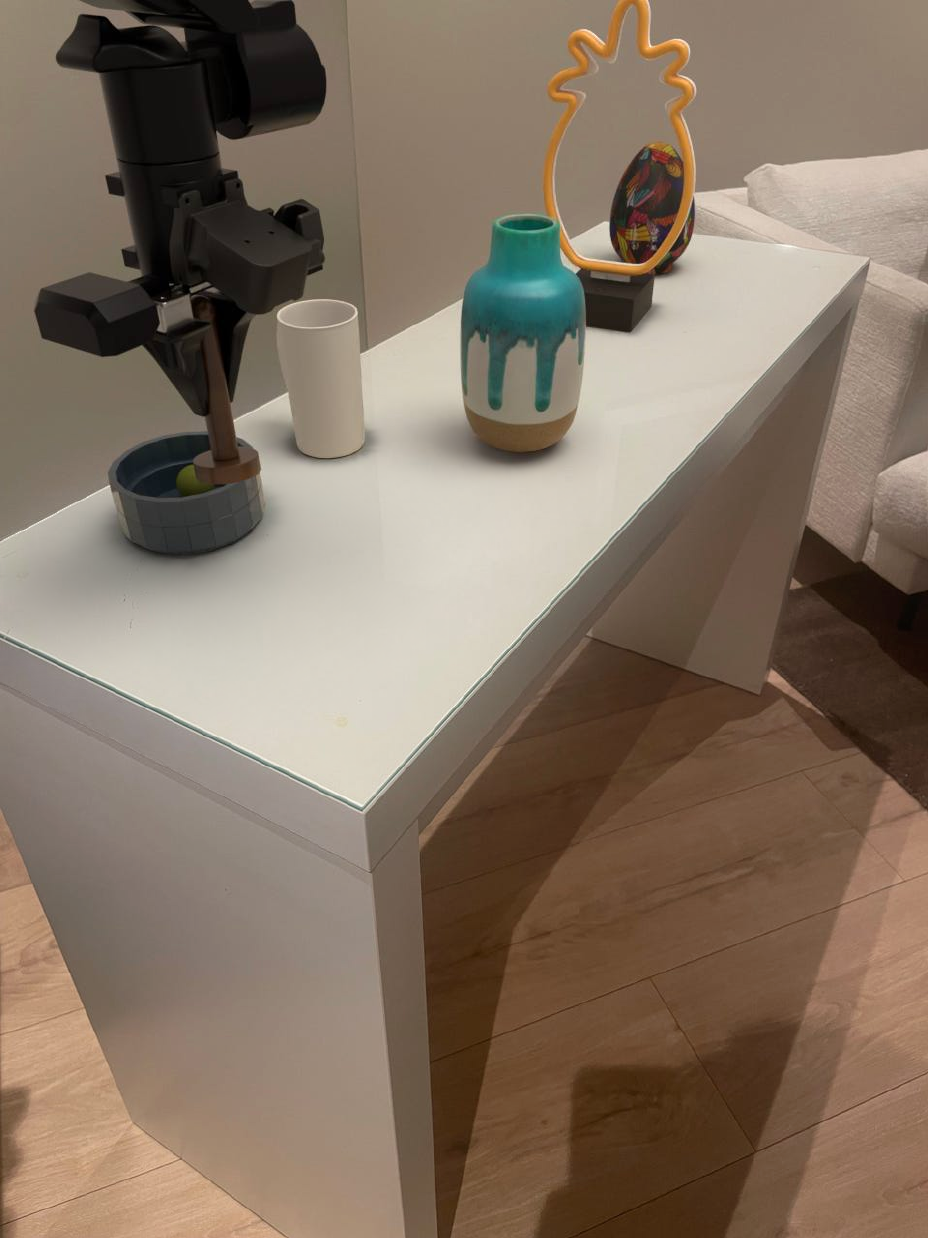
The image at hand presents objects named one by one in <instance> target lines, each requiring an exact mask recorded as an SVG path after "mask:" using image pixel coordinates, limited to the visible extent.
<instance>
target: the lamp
mask: <svg viewBox="0 0 928 1238" xmlns="http://www.w3.org/2000/svg"><path fill="white" fill-rule="evenodd" d="M633 6H634V7H635V8H636V11H637V27H636V44H637V45H636V46H637V51H638V53H639V54H640V57H642V59H644V60H646V61H655V60H657V59H660V58H662V57H664V56H667V55H669V54H671V53H673V52H676V53H677V57H676V58H675V59H674V60H673V61H672V62H671V63H670V64H669V65H667V66H666V67H665V68H664V69H663V70H661V71H660V73H659V75H658V81H659V82H660V83H661V84H664V85H666V86H667V85H668V86H670V87H673V88H676V89H679V90H681V92H682V94H680V95H678V96H676V97H673V98H670V99H668V100H667V101H666V102H665V104H664V109H665V112H666V113H667V115H668V116H669V121H670V124H671V126H672V128H673V131H674V133H675V137H676V139H677V142H678V145H679V149H680V152H681V153H680V154H681V157H682V158H681V160H682V161H683V167H684V187H683V195H682V201H681V205H680V208H679V212H678V215H677V218H676V220H675V222H674V225H673V227H672V229H671V231H670V232H669V234H668V236H667V238H666V239H665V241H664V242H663V244H662V245H661V247H660V248H659V249H658V251H657V252H656V253H655V254H654V255H653V257H652V258H651V259H649V260H648V261H647V262H645V263H642V264H630V263H624V262H623V261H622V262H620V261H614V260H613V261H612V260H605V259H596V258H589V257H585V255H582V254H580V252H578V250H577V249H576V247H575V246H574V244H573V242H572V240H571V239H570V237H569V234H568V232H567V230H566V228H565V226H564V223H563V221H562V217H561V214H560V211H559V207H558V202H557V196H556V184H555V182H556V181H555V180H556V179H555V177H556V167H557V166H556V164H557V160H558V159H557V158H558V154H559V150H560V147H561V144H562V141H563V138H564V137H565V134H566V132H567V130H568V128H569V127H570V124H571V122H572V121H573V119H574V118H575V116H576V114H577V112H578V111H579V109H580V108H581V107H582V105H583V104H584V102H585V101H586V98H587V94H586V92H583V91H581V90H577V89H568V88H563V87H564V86H565V85H566V84H567V83H569V82H571V81H573V80H577V79H580V78H584V77H587V76H591V75H594V74H597V73H598V72H599V65H598V63H597V62H596V60H595V59H594V57H593V56H592V55H591V53H590V52H589V50H591V52H592V53H594V54H595V55H596V56H598V57H599V58H602V59H603V60H604V61H605V62H606V63H608V64H612V65H613V64H614V63H615V62H616V61H617V58H618V55H619V50H620V45H621V39H622V34H623V27H624V23H625V20H626V17H627V15H628V13H629V11H630V10H631V8H632V7H633ZM651 11H652V10H651V5H650V2H649V0H619V1H618V3H617V4H616V6H615V8H614V10H613V13H612V14H611V18H610V21H609V26H608V31H607V37H606V42H604V41H603V40H602V39H601V38H600V37H598V35H596V34H595V33H594V32H593V31H591V30H589V29H585V28H582V29H578V30H575V31H573V32H572V33H571V34H570V35H569V37H568V38H567V43H566V45H567V46H566V47H567V48H566V49H567V50H568V52H569V54H570V56H571V57H572V58H574V61H576V63H578V66H572V67H569V68H566V69H563V70H561V71H559V72H557V73H556V74H554V76H552V78H551V79H550V80H549V82H548V84H547V88H546V91H547V95H548V97H549V99H550V100H551V101H552V102H554V103H561V104H563V103H564V104H568V105H567V107H566V108H565V110H564V112H563V113H562V115H561V117H560V118H559V119H558V122H557V124H556V125H555V128H554V130H553V132H552V135H551V136H550V140H549V143H548V146H547V149H546V153H545V157H544V162H543V170H542V194H543V202H544V208H545V212H546V213H545V214H546V216H549V217H552V218H554V219H556V220H557V221H558V222H559V224H560V251H561V252H562V253H563V255H564V256H565V257H566V259H567V260H568V261H569V262H570V263H571V264H572V265H573V266H575V267H577V268H579V270H578V271H576V272H575V274H576V275H577V276H578V278H579V279H580V281H581V284H582V286H583V290H584V297H585V309H586V327H592V328H599V329H605V330H606V329H607V330H611V331H620V332H625V333H631V332H632V331H633V330H634V329H635V328H636V326H637V325H638V324H639V323H640V322H641V320H642V319H643V318H644V317H645V315H646V314H647V313H648V311H649V310H650V309H651V308H652V306H653V296H654V287H655V279H656V274H654V275H653V274H644V273H646V272H648V271H649V270H651V269H652V268H653V267H655V266H656V265H657V264H658V263H659V262H660V261H661V260H662V259H663V257H664V256H665V255H666V254H667V252H668V251H669V250H670V248H671V247H672V245H673V244H674V243H675V241H676V239H677V238H678V236H679V234H680V232H681V231H682V229H683V227H684V225H685V222H686V220H687V218H688V215H689V212H690V208H691V205H692V201H693V196H694V197H695V191H696V178H697V167H696V166H697V165H696V159H695V158H696V157H695V151H694V146H693V142H692V137H691V133H690V130H689V127H688V124H687V122H686V120H685V117H684V115H683V111H684V110H685V108H687V107H688V106H689V105H690V104H691V103H692V102H693V101H694V99H695V98H696V95H697V86H696V84H695V82H694V81H693V80H692V79H691V78H689V77H687V76H685V75H682V74H679V73H680V72H681V71H682V70H683V69H684V68H685V67H686V66H687V65H688V63H689V61H690V59H691V48H690V45H689V43H688V42H687V41H685V40H684V39H680V38H673V39H669V40H666V41H664V42H662V43H659V44H656V45H652V44H651V22H652V21H651V19H652V12H651ZM586 46H587V48H589V50H588V49H587V48H586Z"/></svg>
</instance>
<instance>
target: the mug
mask: <svg viewBox="0 0 928 1238" xmlns="http://www.w3.org/2000/svg"><path fill="white" fill-rule="evenodd" d="M358 314H359V313H358V309H357V307H356V306H355V305H353V304H351V303H349V302H346V301H342V300H337V299H327V298H325V299H324V298H323V299H320V298H319V299H318V298H317V299H307V300H302V301H301V300H300V301H297V302H293V303H291V304H288V305H285V306H284V307H282V308H281V309H280V310H278V311H277V314H276V320H277V327H276V348H277V355H278V360H279V364H280V369H281V372H282V376H283V380H284V383H285V386H286V389H287V390H286V391H287V394H288V400H289V406H290V414H291V419H292V425H293V429H294V437H295V443H296V446H297V448H298V450H299V451H300V452H301V453H303V454H304V455H306V456H309V457H313V458H318V459H319V458H320V459H335V458H342V457H346V456H348V455H351V454H354V453H355V452H357V451H359V450H360V449H361V448H362V447H363V446H364V445H365V443H366V432H365V429H366V428H365V411H364V408H365V407H364V397H363V396H364V393H363V392H364V391H363V377H362V360H361V343H360V327H359V316H358Z"/></svg>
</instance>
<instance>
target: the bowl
mask: <svg viewBox="0 0 928 1238" xmlns="http://www.w3.org/2000/svg"><path fill="white" fill-rule="evenodd" d="M236 439H237V444H238V446H240V447H250V448H253V449H255V448H254V447H253V446H252V445H251V444H249V442H247V441H246V440H244V439H242V438H240V437H237V436H236ZM209 450H211V448H210V442H209V437H208V432H207V430H204V431H202V430H201V431H182V432H176V433H171V434H164V435H161V436H157V437H154V438H150V439H148V440H144V441H142V442H140V443H137V444H136V445H134V446H132V447H130V448H128V449H126V450H124V451H123V452H122V454H120V455H118V456H117V458H116V459H114V460H113V461H112V463H111V464H110V467H109V469H108V471H107V477H108V484H109V487H110V488H109V489H110V492H111V495H112V499H113V502H114V506H115V510H116V513H117V516H118V517H117V518H118V520H119V524H120V528H121V531H122V533H123V534H124V536H125V537H127V538H128V539H129V541H130V542H131V543H134V544H136V545H139V546H140V547H143V548H144V549H147V550H149V551H152V552H155V553H158V554H159V553H160V554H166V555H177V556H179V555H194V554H201V553H205V552H211V551H214V550H217V549H221V548H224V547H227V546H228V545H231V544H233V543H235V542H237V541H238V540H239V539H242V538H243V537H245V536H246V535H247V534H249V532H250V531H252V530H253V528H254V527H255V526H256V525H257V523H259V521H260V520H261V519H262V518H263V515H264V511H265V506H266V502H265V501H266V500H265V495H264V489H263V481H262V477H261V476H262V475H261V472H260V473H259V474H258V475H256V476H254V477H252V478H250V479H248V480H244V481H241V482H237V483H231V484H215V487H214V490H212V491H209V492H206V493H203V494H198V495H192V496H187V497H182V496H181V494H180V493H179V491H178V489H177V485H176V480H177V476H178V474H179V472H180V471H181V470H182V469H183V468H185V467H187V466H189V465H194V464H193V460H194V458H195V457H196V456H198V455H199V454H201V453H204V452H206V451H209Z"/></svg>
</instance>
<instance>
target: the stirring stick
mask: <svg viewBox="0 0 928 1238" xmlns="http://www.w3.org/2000/svg"><path fill="white" fill-rule="evenodd" d="M190 300H191V305H192V311H193V316H194V318H195V319H198V320H202V321H206V322H210V323H211V326H210V328H209V329H208V331H207V332H206V334H205V336H204V337H203V339H202V341H201V343H200V346H201V353H202V359H203V365H204V372H205V378H206V384H207V391H208V402H209V414H208V415H207V416H205V417H204V421H205V426H206V431H207V432H208V437H209V442H210V448H211V450H209V451H206V452H204V453H201V454H199V455H198V456H196V457H195V458H194V460H193V464H194V469H195V474H196V478H197V480H198V481H200V482H202V483H206V484H231V483H237V482H241V481H244V480H248V479H250V478H252V477H254V476H256V475H258V474H259V473H260V474H261V471H262V466H261V460H260V459H261V458H260V453H259V451H258V450H257V449H255V448H254V447H253V448H254V449H253V448H250V447H240V446H238V444H237V439H236V437H237V433H236V428H235V422H234V416H233V411H232V403H230V398H229V393H228V387H227V381H226V375H225V370H224V364H223V358H222V352H221V347H220V341H219V335H218V329H217V324H216V318H215V317H216V309H215V306H214V304H213V302H212V301H211V300H210V299H209V298H207V297H206V296H203V295H194V296H191V298H190Z"/></svg>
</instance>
